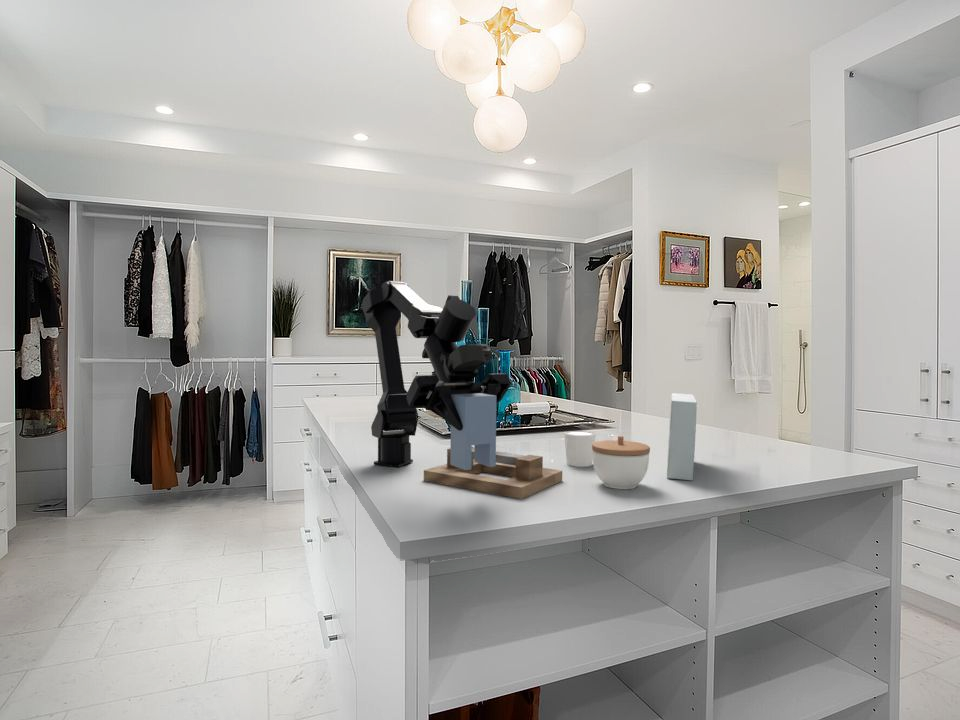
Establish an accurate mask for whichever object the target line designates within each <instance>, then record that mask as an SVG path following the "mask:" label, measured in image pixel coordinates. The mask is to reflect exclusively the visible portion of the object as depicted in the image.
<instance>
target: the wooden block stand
mask: <svg viewBox="0 0 960 720" xmlns="http://www.w3.org/2000/svg"><path fill="white" fill-rule="evenodd" d="M450 450H451V447H450V448H447V450H446V464H442V465H439V466H438V465H437V466H434V467H430V468H427V469H424V470H423V481H424V482H430V483H434V484H440V485H446V486H451V487H456V488H460V489H461V488H462V489H467V490H473V491H478V492H483V493H489V494H494V495H498V496H504V497H510V498H516V499H520V500H522V499H524V498H526V497H529V496H531V495H533V494H536V493H538V492H541V491H542V490H545V489H547V488H550V487H551V486H553V485H556V484H558V483H560V482H562V481H563V470H561V469H553V468H547V467H543V466H544V465H543V462H544V461H543V456H542V455H534V454H527V455H526V454H525V455H523V454H516V453H510V452H504V451H503V452H502V451H496V466H494V467H488V466H485V465H482V464H480V463H477V462H474V446H472V454H471V470H463V469H461V468H458V467H456V466H453V465H450ZM479 473H488V474H493V475H494V474H495V475H499V476H506V477H510V478H507V479H503V478H497V477H491V476H485V475H480V474H479Z"/></svg>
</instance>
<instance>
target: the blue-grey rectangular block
mask: <svg viewBox="0 0 960 720" xmlns="http://www.w3.org/2000/svg"><path fill="white" fill-rule="evenodd" d="M451 397H452V401H453V403H454V405H455V407H456V410H457V412H458V414H459V416H460V419H461V422H462V425H463V428H462V430H461V431H458V430H457V429H456V428H455V427H453V426H452V425H451V424H450V448H451V450H450V465H453V466H456V467H458V468H461V469H463V470H471V454H472V447H474V462H477V463H480V464H482V465H485V466H488V467H494V466H496V452H497V403H496V396H495V395H489V394H482V393H476V394H454V395H451Z"/></svg>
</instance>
